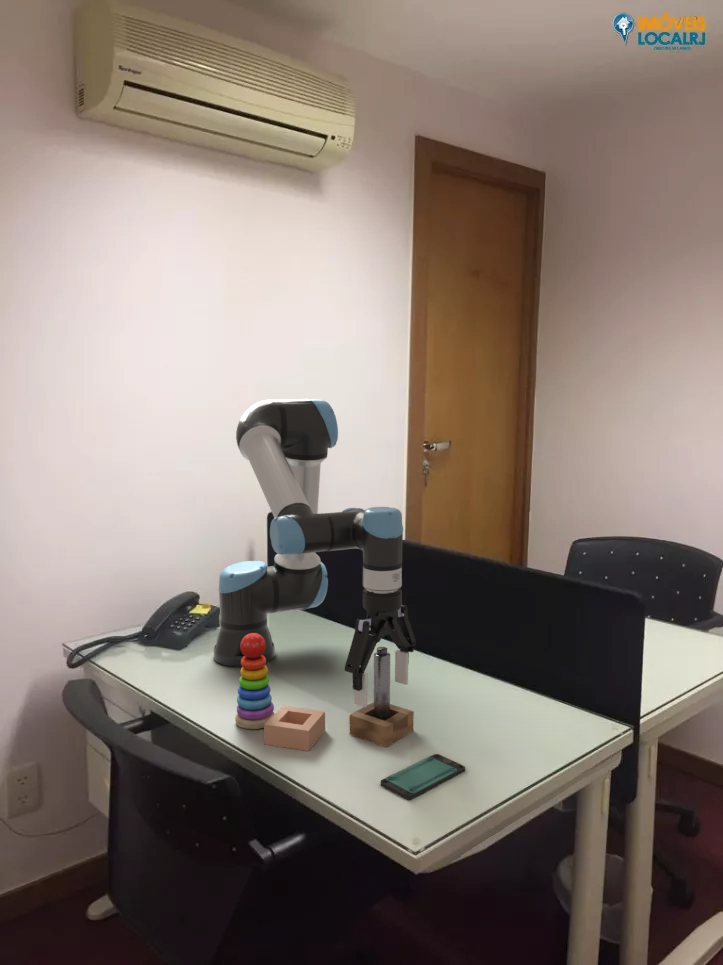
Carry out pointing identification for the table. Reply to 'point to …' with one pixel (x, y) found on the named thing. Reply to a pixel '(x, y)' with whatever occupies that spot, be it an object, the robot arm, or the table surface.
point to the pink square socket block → (294, 728)
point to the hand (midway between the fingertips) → (381, 693)
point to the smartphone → (422, 776)
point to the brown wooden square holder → (381, 725)
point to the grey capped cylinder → (382, 684)
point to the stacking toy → (253, 685)
